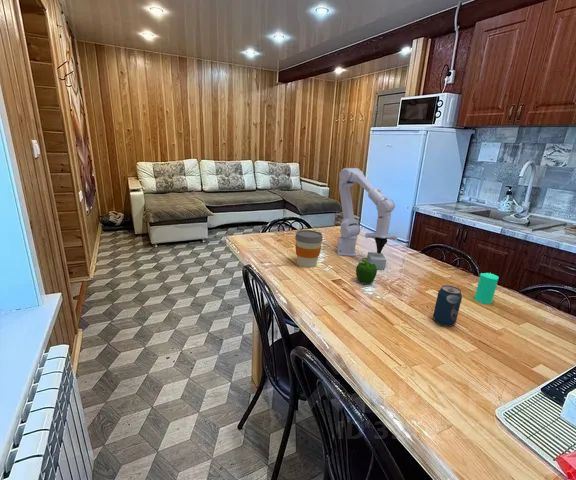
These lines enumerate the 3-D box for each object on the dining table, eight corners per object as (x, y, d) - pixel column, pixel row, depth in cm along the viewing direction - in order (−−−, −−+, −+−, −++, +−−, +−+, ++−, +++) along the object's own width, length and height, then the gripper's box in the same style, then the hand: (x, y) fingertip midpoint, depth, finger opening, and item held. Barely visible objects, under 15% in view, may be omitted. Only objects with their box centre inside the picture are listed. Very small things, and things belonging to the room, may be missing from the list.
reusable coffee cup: (289, 265, 144) (291, 234, 139) (298, 257, 155) (300, 228, 150) (315, 271, 139) (318, 239, 135) (323, 262, 151) (326, 232, 146)
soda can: (454, 330, 100) (462, 296, 96) (430, 322, 103) (438, 289, 99) (456, 320, 105) (464, 288, 102) (434, 313, 109) (440, 282, 105)
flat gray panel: (366, 268, 145) (366, 268, 145) (362, 258, 159) (362, 257, 159) (384, 270, 145) (384, 269, 145) (378, 259, 158) (378, 259, 158)
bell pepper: (378, 282, 132) (382, 260, 129) (369, 288, 126) (372, 265, 123) (361, 276, 137) (364, 254, 134) (351, 281, 131) (354, 259, 128)
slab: (385, 268, 147) (370, 266, 147) (381, 260, 156) (366, 259, 157) (386, 260, 145) (371, 258, 146) (382, 253, 155) (367, 251, 155)
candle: (489, 298, 123) (497, 270, 119) (493, 305, 117) (502, 276, 114) (472, 295, 124) (479, 267, 121) (475, 302, 119) (483, 273, 115)
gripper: (368, 226, 142) (364, 254, 146) (400, 228, 141) (396, 256, 146) (366, 222, 149) (362, 249, 153) (396, 225, 148) (392, 251, 152)
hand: (378, 252), depth 150 cm, fingers closed
